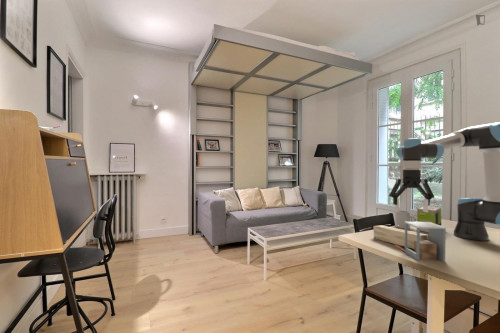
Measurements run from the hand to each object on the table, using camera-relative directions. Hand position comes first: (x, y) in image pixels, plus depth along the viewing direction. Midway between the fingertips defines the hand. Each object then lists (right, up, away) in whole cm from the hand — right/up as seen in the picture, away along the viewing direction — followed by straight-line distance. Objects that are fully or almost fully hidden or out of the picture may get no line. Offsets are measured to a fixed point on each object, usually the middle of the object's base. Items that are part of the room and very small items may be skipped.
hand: (411, 211), depth 119 cm
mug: (+24, -19, +41) cm, 51 cm away
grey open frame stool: (0, -19, -6) cm, 20 cm away
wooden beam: (-2, -18, +6) cm, 19 cm away
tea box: (+37, -19, +36) cm, 55 cm away
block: (0, -19, -10) cm, 22 cm away
